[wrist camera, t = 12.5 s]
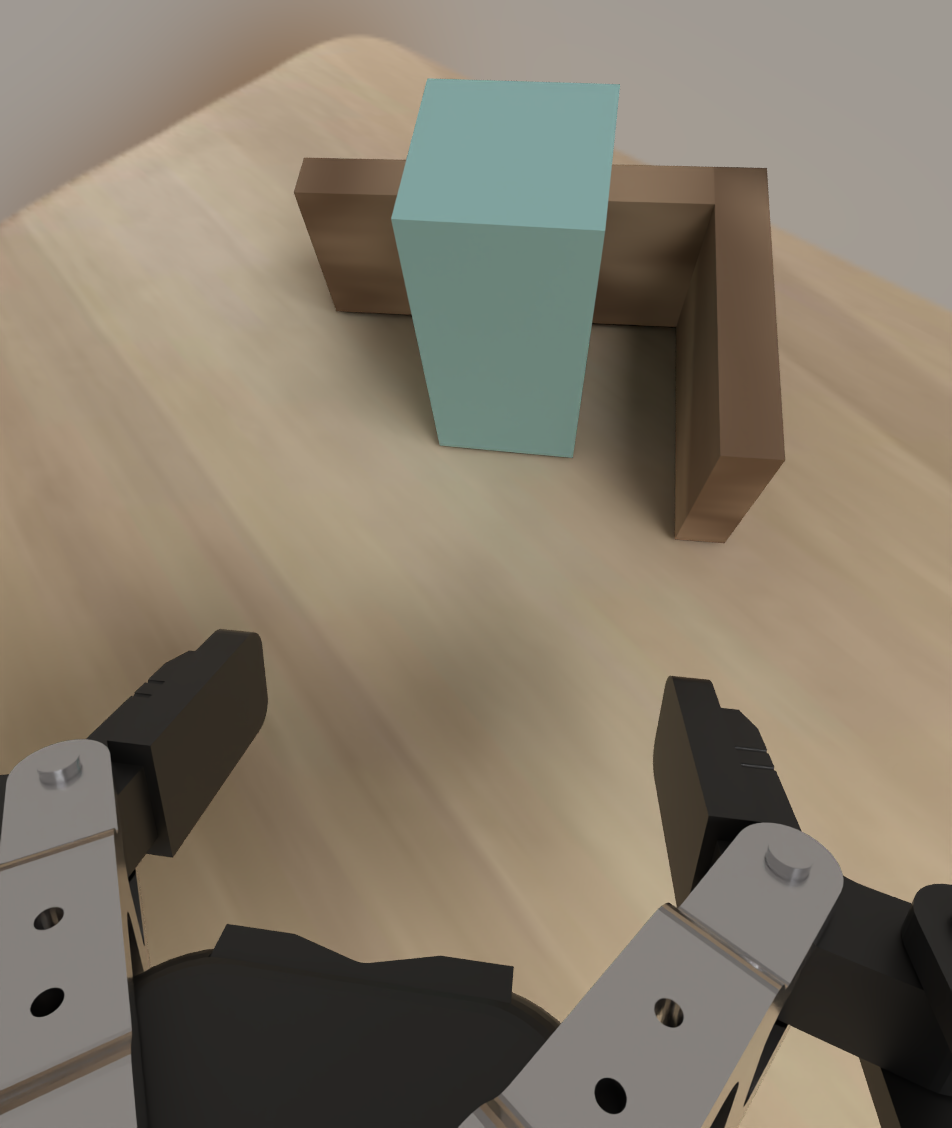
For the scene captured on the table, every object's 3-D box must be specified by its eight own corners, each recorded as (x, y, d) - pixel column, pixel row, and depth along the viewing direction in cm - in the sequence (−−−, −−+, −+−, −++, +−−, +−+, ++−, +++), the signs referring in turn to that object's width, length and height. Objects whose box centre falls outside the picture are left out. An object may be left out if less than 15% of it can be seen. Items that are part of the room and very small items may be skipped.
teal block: (584, 348, 23) (619, 84, 15) (572, 457, 22) (605, 230, 13) (460, 339, 24) (427, 78, 15) (439, 445, 22) (391, 218, 14)
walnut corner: (718, 295, 24) (766, 168, 19) (724, 542, 20) (784, 460, 16) (344, 280, 25) (304, 157, 21) (288, 508, 22) (225, 423, 17)
